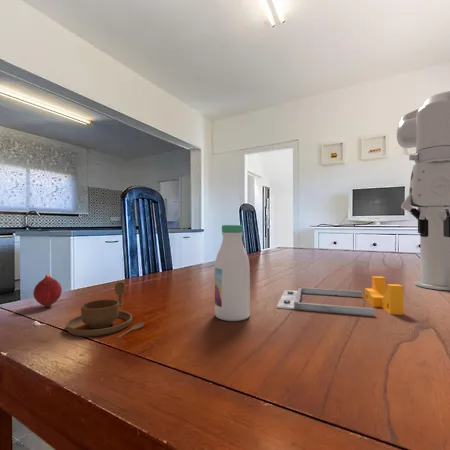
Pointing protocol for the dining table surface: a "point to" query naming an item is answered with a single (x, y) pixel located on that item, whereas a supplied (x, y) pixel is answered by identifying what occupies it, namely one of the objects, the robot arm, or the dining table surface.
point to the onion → (47, 291)
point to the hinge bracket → (292, 301)
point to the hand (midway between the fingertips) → (436, 236)
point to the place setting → (102, 316)
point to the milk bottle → (232, 276)
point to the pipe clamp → (385, 295)
